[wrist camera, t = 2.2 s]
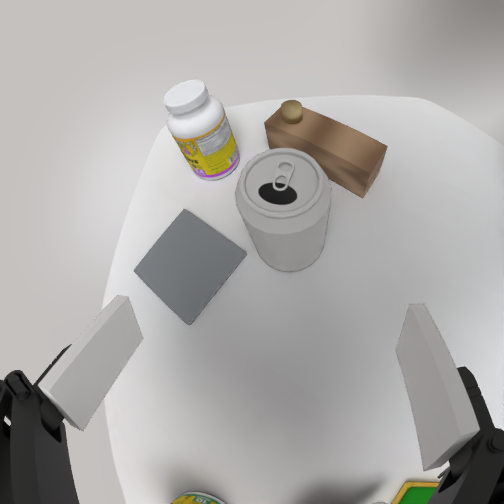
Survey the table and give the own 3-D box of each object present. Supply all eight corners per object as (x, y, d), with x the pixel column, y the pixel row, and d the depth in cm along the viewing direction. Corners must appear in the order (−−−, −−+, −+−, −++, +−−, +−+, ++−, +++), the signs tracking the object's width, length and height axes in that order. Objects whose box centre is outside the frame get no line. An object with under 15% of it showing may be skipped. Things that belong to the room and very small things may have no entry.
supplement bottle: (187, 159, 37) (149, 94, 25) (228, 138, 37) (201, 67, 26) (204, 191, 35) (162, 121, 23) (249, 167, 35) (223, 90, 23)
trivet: (246, 254, 31) (245, 252, 30) (190, 325, 29) (187, 324, 28) (186, 211, 34) (184, 208, 33) (136, 272, 32) (133, 270, 32)
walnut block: (379, 171, 31) (391, 134, 25) (362, 198, 30) (373, 162, 24) (290, 127, 36) (285, 89, 30) (269, 148, 35) (261, 110, 29)
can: (246, 262, 30) (213, 209, 19) (269, 204, 32) (250, 133, 21) (313, 282, 28) (318, 236, 17) (331, 220, 30) (341, 150, 19)
